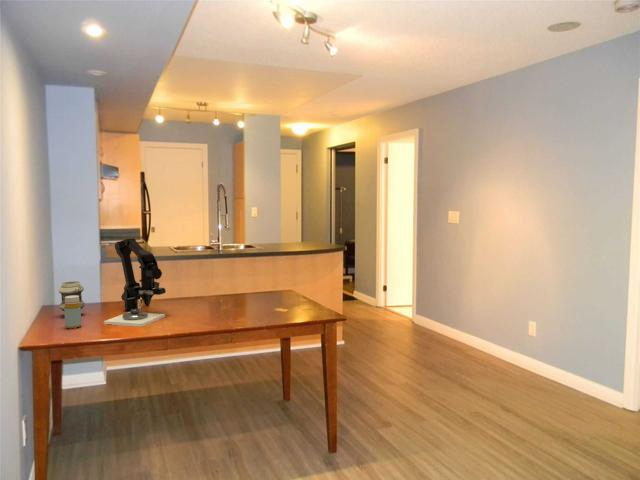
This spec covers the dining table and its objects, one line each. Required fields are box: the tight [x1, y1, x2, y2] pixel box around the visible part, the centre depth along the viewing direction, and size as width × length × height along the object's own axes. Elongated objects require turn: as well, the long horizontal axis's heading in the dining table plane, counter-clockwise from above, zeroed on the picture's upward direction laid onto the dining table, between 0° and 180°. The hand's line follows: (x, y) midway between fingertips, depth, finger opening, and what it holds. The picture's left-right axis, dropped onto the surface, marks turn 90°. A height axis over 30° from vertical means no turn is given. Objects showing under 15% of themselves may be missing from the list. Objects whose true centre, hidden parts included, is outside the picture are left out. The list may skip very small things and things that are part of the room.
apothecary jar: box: [58, 280, 86, 318], centre depth 262 cm, size 12×12×18 cm
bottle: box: [63, 295, 82, 329], centre depth 239 cm, size 7×7×15 cm
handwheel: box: [122, 298, 149, 320], centre depth 255 cm, size 18×12×7 cm, turn 7°
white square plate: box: [103, 312, 166, 328], centre depth 253 cm, size 21×21×2 cm
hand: (147, 306), depth 263 cm, fingers closed
